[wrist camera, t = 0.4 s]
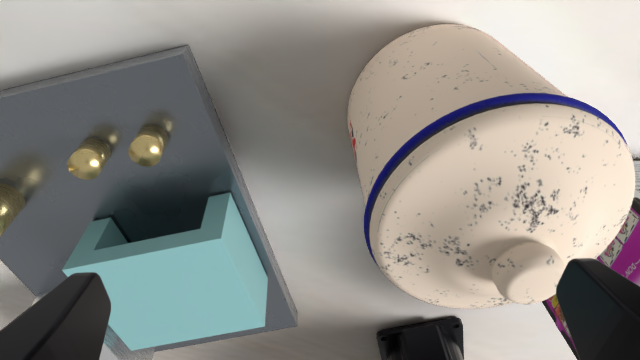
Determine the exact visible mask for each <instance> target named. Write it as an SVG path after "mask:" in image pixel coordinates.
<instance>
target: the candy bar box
mask: <svg viewBox="0 0 640 360" xmlns="http://www.w3.org/2000/svg"><path fill="white" fill-rule="evenodd" d="M633 163H634V169H635V192H634V198H633V201H632V205H631V208H630V211H629V213H628V216H627V218H626V220H625V222H624V224H623V226H622V227H621V229H620V231H619V232H618V234H617V235H616V237H615V238H614V239H613V240H612V242H611V243H610V244H609V245H608V246H607V248H606V249H605V250H604V251H603V252H602V253H601V254H600V255H599V256H598V257H597V258H596V260H598V261H600V262H601V263H603V264H605V265H606V266H608V267H609V268H611V269H613V270H614V271H616V272H617V273H619V274H621V275H622V276H624V277H626V278H627V279H629V280H630V281H632V282H634V283H635V284H637V285H638V286H640V159H636V160H633ZM542 303H543V304H544V306H545V308H546V309H547V311H548V312H549V314H550V316H551V317H552V319H553V320H554V322H555V324H556V326H557V328H558V329H559V331H560V332H561V334H562V335H563V337H564V339H565V340H566V342H567V344H568V345H569V347H570V348H571V350H572V352H573V353H574V355H575V357H576V358H577V360H580V359H579V357H578V354H577V351H576V349H575V346H574V343H573V341H572V338H571V335H570V333H569V330H568V327H567V324H566V322H565V319H564V316H563V314H562V311H561V308H560V306H559V303H558V300H557V296H556V294H554V295H553V296H552V297H550V298H548V299H546V300H544V301H542Z"/></svg>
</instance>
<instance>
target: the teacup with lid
mask: <svg viewBox="0 0 640 360" xmlns="http://www.w3.org/2000/svg"><path fill="white" fill-rule="evenodd" d="M348 129H349V134H350V138H351V143H352V147H353V152H354V157H355V161H356V166H357V170H358V175H359V179H360V184H361V189H362V193H363V198H364V202H365V207H366V208H365V215H364V232H365V239H366V243H367V246H368V249H369V251H370V254H371V256H372V258H373V259H374V261H375V263H376V264H377V265H378V267H379V268H380V269H381V271H382V272H383V273H384V275H385V276H386V277H387V278H388V279H389V280H390V281H391V282H392V283H393V284H395V285H396V286H397V287H398V288H400V289H401V290H403V291H404V292H406V293H407V294H409V295H411V296H413V297H415V298H417V299H419V300H422V301H424V302H427V303H431V304H434V305H439V306H443V307H450V308H463V309H474V308H487V307H495V306H501V305H506V304H510V303H514V302H515V303H519V304H533V303H538V302H541V301H544V300H546V299H548V298H550V297H552V296H553V295H554V294H556V287H557V284H558V282H559V280H560V278H561V276H562V274H563V272H564V270H565V268H566V266H567V264H568V262H569V261H570V260H572V259H575V258H593V259H596V258H597V257H598V256H599V255H600V254H601V253H602V252H603V251H604V250H605V249H606V248H607V246H608V245H609V244H610V243H611V242H612V240H613V239H614V238H615V237H616V235H617V234H618V232H619V231H620V229H621V227H622V226H623V224H624V222H625V220H626V218H627V216H628V213H629V211H630V208H631V205H632V201H633V198H634V192H635V169H634V163H633V159H632V156H631V153H630V151H629V149H628V146H627V143H626V141H625V139H624V137H623V135H622V133H621V132H620V131H619V129H618V128H617V127H616V125H615V124H614V123H613V122H612V121H611V120H610V119H609V118H608V117H607V116H605V115H604V114H603V113H601V112H600V111H599V110H597V109H595V108H594V107H592V106H590V105H588V104H586V103H584V102H581V101H578V100H576V99H573V98H569V97H567V96H566V95H565V94H563V93H562V92H561V91H560V90H558V89H557V88H556V87H555V86H553V85H552V84H551V83H550V82H548V81H547V80H546V79H545V78H543V77H542V76H541V75H540V74H538V73H537V72H536V71H535V70H533V69H532V68H531V67H530V66H528V65H527V64H526V63H525V62H523V61H522V60H521V59H520V58H518V57H517V56H516V55H515V54H513V53H512V52H511V51H510V50H509V49H507V48H506V47H505V46H504V45H502V44H501V43H500V42H499V41H497V40H496V39H494V38H493V37H492V36H490V35H488V34H487V33H485V32H483V31H480V30H478V29H475V28H472V27H468V26H464V25H457V24H439V25H432V26H427V27H423V28H419V29H417V30H414V31H411V32H409V33H406V34H404V35H402V36H400V37H399V38H397V39H395V40H393V41H392V42H390V43H389V44H388V45H386V46H385V47H384V48H382V49H381V50H380V51H379V52H378V53H377V54H376V55H375V56H374V57H373V58H372V59H371V60H370V61H369V62H368V64H367V65H366V66H365V67H364V69H363V70H362V72H361V73H360V75H359V77H358V79H357V80H356V82H355V85H354V87H353V89H352V92H351V96H350V100H349V104H348Z"/></svg>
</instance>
